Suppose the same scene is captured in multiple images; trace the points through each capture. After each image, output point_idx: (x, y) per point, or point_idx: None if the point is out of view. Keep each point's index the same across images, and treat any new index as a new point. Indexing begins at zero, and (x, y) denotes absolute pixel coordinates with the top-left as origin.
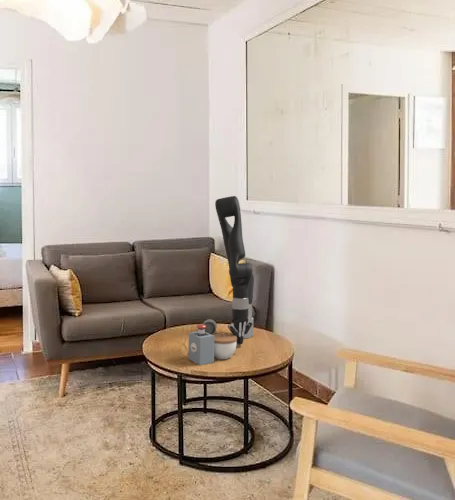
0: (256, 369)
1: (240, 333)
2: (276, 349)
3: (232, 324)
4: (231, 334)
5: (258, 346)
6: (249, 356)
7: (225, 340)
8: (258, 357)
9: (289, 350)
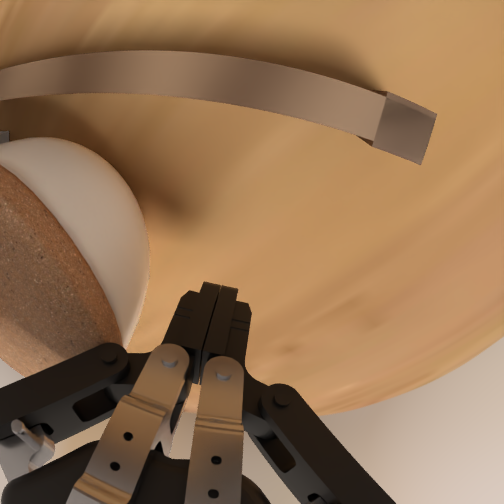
0: None
1: (172, 416)
2: (454, 333)
3: (20, 473)
4: (86, 327)
5: (474, 233)
6: None
7: (6, 362)
8: (267, 356)
9: (456, 367)
